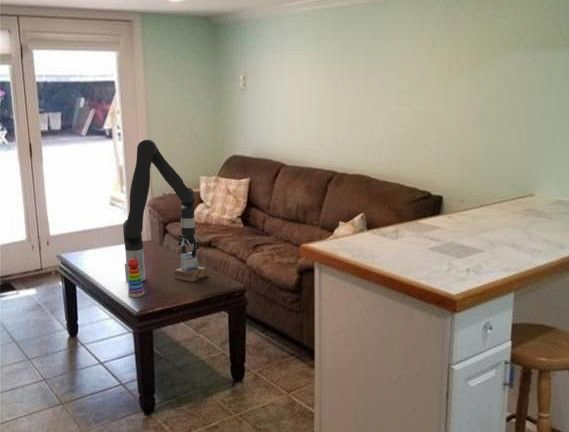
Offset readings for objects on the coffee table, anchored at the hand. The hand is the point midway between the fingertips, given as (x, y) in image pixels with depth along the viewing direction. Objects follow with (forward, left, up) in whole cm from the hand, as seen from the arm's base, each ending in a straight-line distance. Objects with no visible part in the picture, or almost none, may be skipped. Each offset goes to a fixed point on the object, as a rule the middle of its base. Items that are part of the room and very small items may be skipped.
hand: (188, 255), depth 323 cm
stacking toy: (-35, -2, -12) cm, 38 cm away
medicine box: (0, 0, -8) cm, 8 cm away
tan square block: (0, 0, -13) cm, 13 cm away
